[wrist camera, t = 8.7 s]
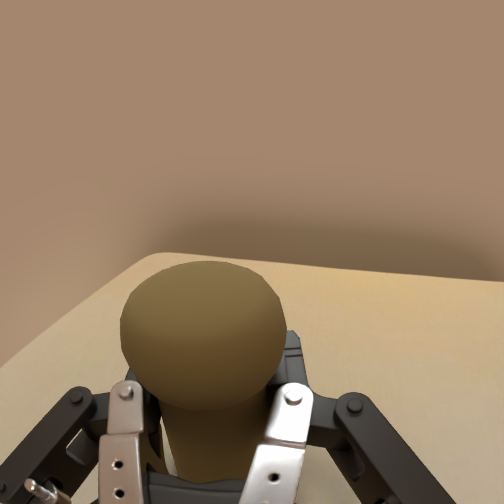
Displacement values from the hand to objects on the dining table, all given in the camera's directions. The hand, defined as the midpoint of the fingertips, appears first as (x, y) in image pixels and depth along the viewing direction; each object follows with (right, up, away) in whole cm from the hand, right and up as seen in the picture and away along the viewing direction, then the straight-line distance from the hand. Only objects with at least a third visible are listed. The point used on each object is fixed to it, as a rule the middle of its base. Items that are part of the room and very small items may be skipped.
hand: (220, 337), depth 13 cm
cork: (0, -7, 0) cm, 7 cm away
